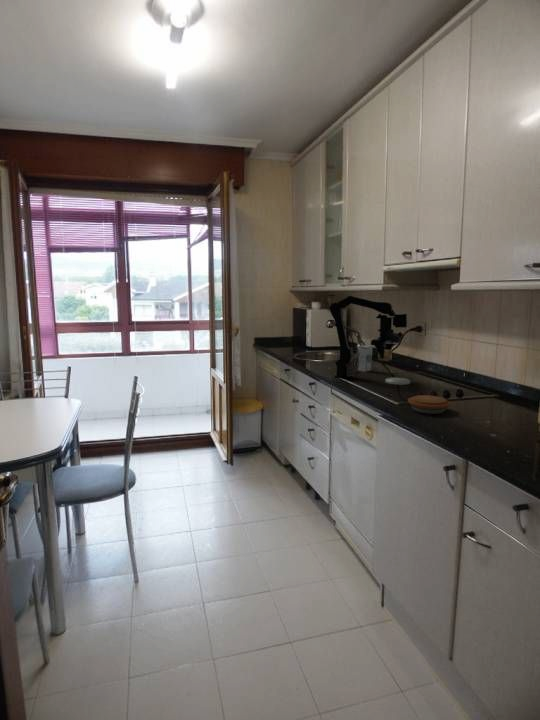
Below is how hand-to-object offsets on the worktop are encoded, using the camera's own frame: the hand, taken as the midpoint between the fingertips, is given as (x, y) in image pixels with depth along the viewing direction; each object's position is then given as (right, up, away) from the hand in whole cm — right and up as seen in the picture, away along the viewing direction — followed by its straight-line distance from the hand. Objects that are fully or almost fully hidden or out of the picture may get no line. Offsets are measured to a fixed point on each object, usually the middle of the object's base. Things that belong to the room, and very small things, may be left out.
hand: (384, 357), depth 229 cm
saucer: (+5, -12, -5) cm, 14 cm away
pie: (+2, -21, -56) cm, 60 cm away
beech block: (0, -1, 0) cm, 1 cm away
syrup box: (-5, -7, +28) cm, 29 cm away
